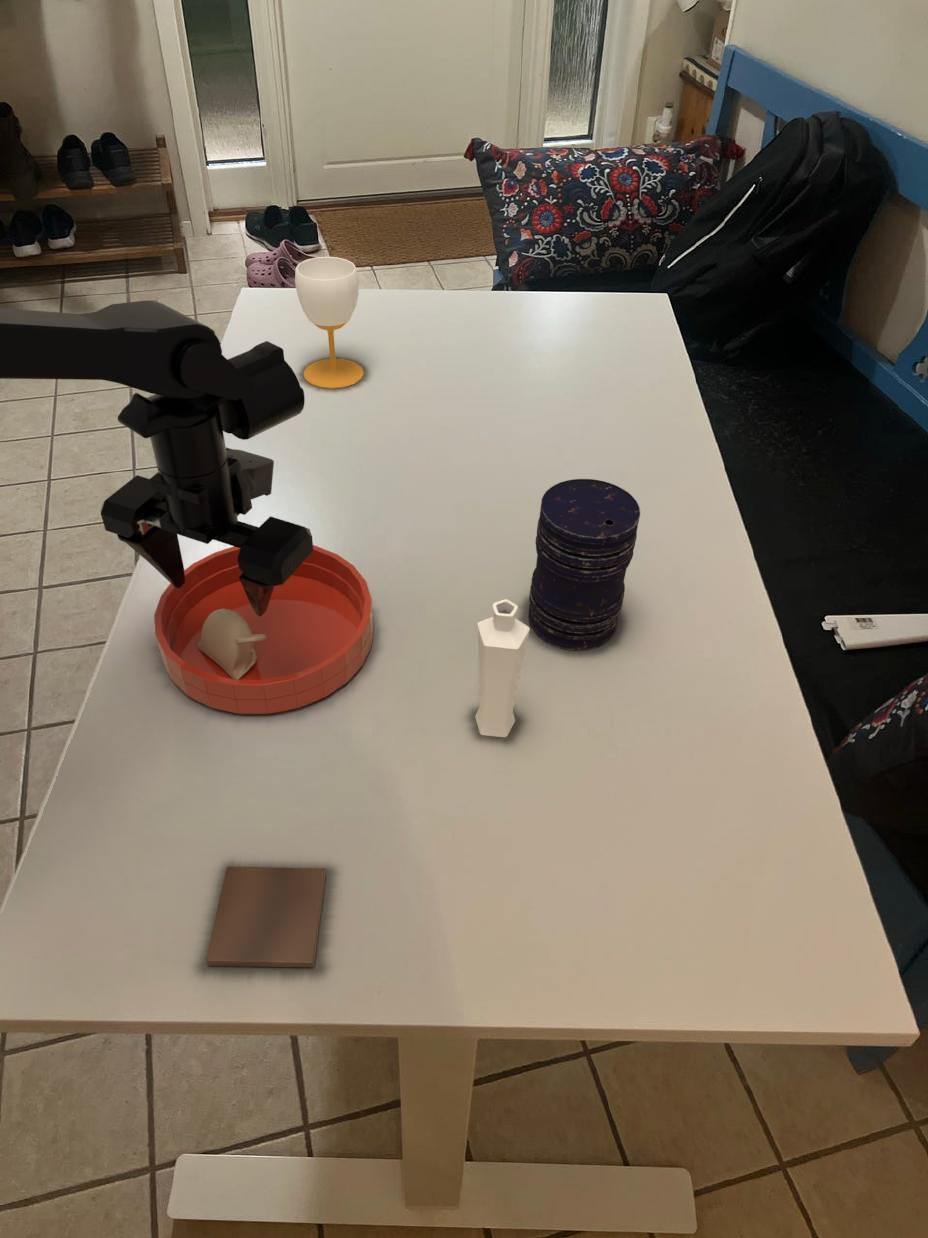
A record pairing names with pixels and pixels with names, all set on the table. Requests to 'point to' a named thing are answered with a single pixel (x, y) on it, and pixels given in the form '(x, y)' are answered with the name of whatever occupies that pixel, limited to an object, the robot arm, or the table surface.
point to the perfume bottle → (499, 668)
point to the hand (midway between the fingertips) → (220, 599)
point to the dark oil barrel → (581, 562)
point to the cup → (329, 314)
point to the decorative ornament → (229, 642)
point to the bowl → (269, 633)
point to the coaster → (267, 917)
